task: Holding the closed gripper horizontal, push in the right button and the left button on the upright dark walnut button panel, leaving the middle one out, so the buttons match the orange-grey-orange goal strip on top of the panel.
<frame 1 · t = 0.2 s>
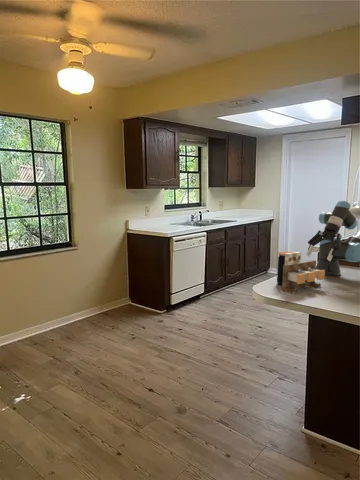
hand: (317, 257, 199), 15 cm above the countertop, tool tilted 35°, fingers open, 13 cm apart
button 2: (315, 273, 194), point 8 cm above the countertop, slide at 0.0 cm
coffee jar: (286, 284, 201), on the countertop
button 1: (295, 277, 185), point 8 cm above the countertop, slide at 0.0 cm
button middle: (305, 275, 189), point 8 cm above the countertop, slide at 0.0 cm
button panel: (298, 287, 194), on the countertop
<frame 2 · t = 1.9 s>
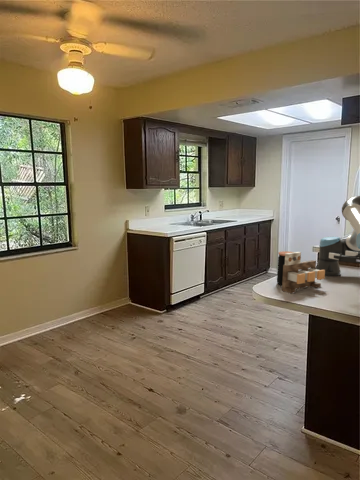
hand: (337, 254, 181), 21 cm above the countertop, tool horizontal, fingers open, 13 cm apart
nothing on the countertop moved.
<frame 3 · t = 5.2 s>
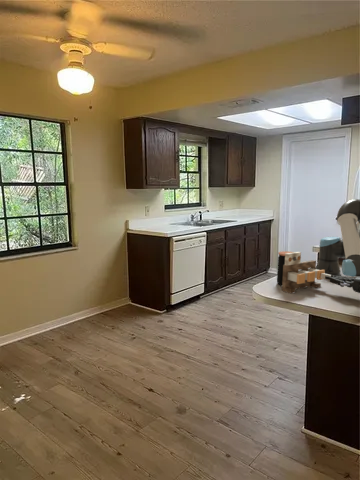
hand: (321, 275, 190), 8 cm above the countertop, tool horizontal, fingers closed
button 2: (315, 273, 194), point 8 cm above the countertop, slide at 0.1 cm, touching gripper
everything else where it was.
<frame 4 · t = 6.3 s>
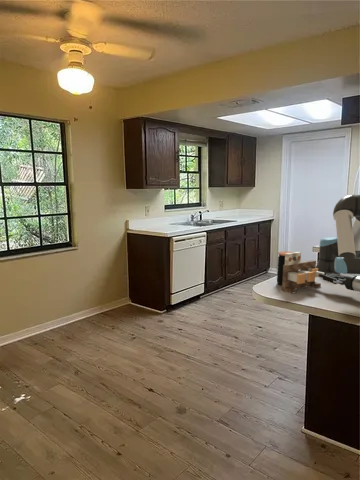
hand: (315, 273, 194), 8 cm above the countertop, tool horizontal, fingers closed
button 2: (308, 271, 197), point 8 cm above the countertop, slide at 4.3 cm, touching gripper
everything else where it was.
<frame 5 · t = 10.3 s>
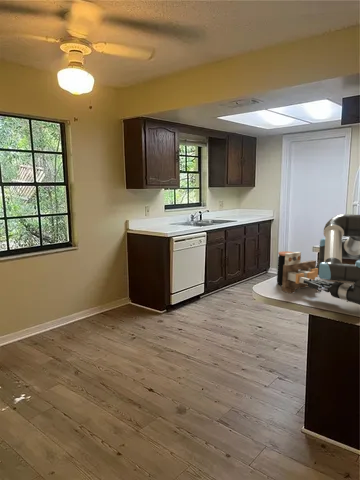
hand: (300, 279, 182), 8 cm above the countertop, tool horizontal, fingers closed
button 2: (308, 271, 197), point 8 cm above the countertop, slide at 4.3 cm
button 1: (294, 276, 186), point 8 cm above the countertop, slide at 0.8 cm, touching gripper
everything else where it was.
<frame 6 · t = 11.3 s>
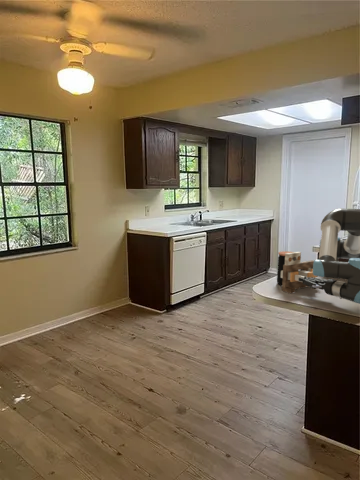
hand: (295, 277, 185), 8 cm above the countertop, tool horizontal, fingers closed
button 1: (289, 275, 189), point 8 cm above the countertop, slide at 4.3 cm, touching gripper
everything else where it was.
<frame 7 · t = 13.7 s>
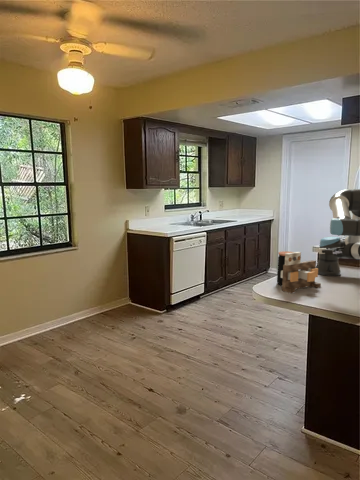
hand: (319, 251, 186), 21 cm above the countertop, tool horizontal, fingers closed
button 1: (289, 275, 189), point 8 cm above the countertop, slide at 4.3 cm
everything else where it was.
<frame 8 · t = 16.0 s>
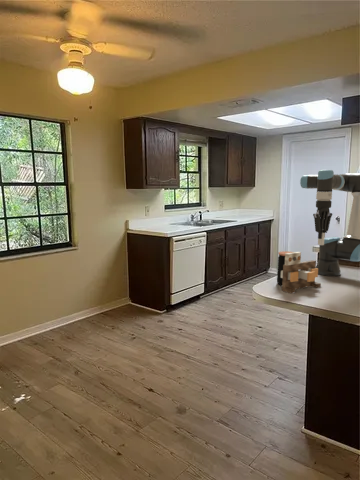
hand: (320, 244, 188), 24 cm above the countertop, tool pointing down, fingers closed
nothing on the countertop moved.
at the end: button 2 slide at 4.3 cm; button 1 slide at 4.3 cm; button middle slide at 0.0 cm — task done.
